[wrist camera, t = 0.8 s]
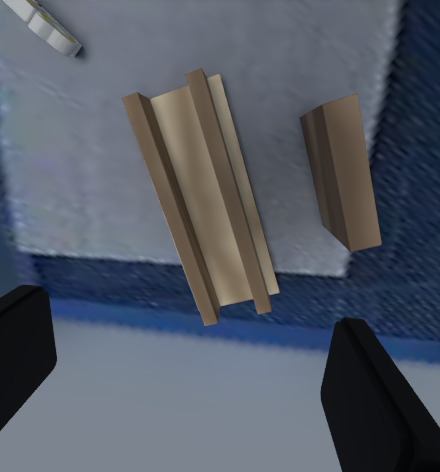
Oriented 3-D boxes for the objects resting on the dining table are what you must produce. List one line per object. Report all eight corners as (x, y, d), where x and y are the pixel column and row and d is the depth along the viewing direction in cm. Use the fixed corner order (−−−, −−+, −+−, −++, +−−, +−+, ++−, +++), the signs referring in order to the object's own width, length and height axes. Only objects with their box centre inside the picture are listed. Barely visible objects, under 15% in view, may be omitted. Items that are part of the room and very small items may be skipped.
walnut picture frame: (324, 109, 29) (357, 93, 21) (345, 219, 32) (381, 244, 24) (299, 117, 30) (322, 104, 21) (322, 225, 33) (350, 252, 24)
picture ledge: (220, 78, 29) (215, 62, 24) (277, 285, 35) (283, 308, 30) (132, 110, 31) (109, 102, 25) (201, 302, 37) (194, 328, 32)
